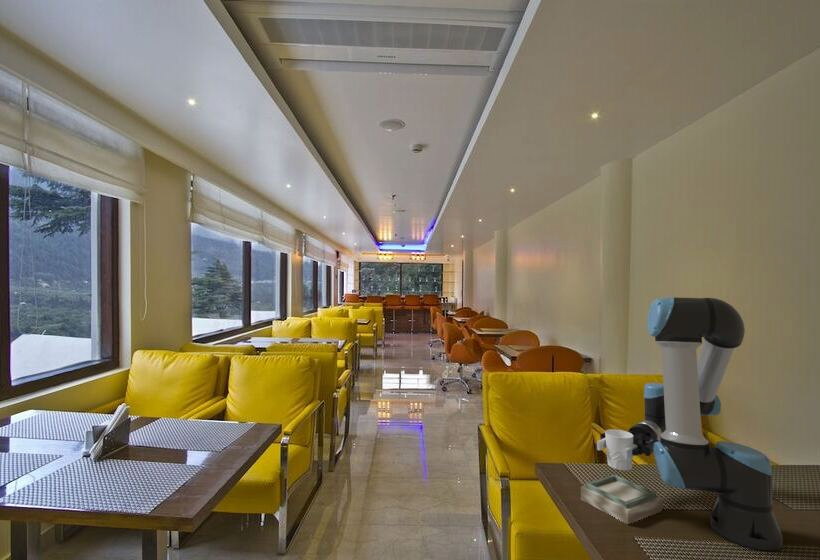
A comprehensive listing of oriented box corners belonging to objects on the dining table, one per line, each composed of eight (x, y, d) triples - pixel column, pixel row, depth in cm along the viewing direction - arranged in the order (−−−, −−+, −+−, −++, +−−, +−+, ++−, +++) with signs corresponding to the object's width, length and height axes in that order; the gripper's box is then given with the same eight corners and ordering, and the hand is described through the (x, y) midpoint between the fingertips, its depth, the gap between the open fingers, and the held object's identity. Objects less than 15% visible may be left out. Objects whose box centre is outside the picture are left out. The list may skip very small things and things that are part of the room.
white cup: (627, 461, 128) (626, 429, 128) (638, 472, 120) (638, 438, 120) (601, 460, 129) (601, 428, 129) (611, 470, 121) (610, 437, 121)
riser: (662, 511, 120) (661, 493, 120) (628, 525, 113) (627, 506, 113) (613, 488, 134) (613, 472, 135) (580, 499, 127) (580, 482, 127)
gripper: (679, 455, 127) (648, 474, 113) (614, 437, 143) (580, 451, 130) (678, 431, 127) (647, 447, 114) (614, 416, 144) (579, 428, 130)
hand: (611, 450), depth 122 cm, fingers closed on white cup, 8 cm apart
